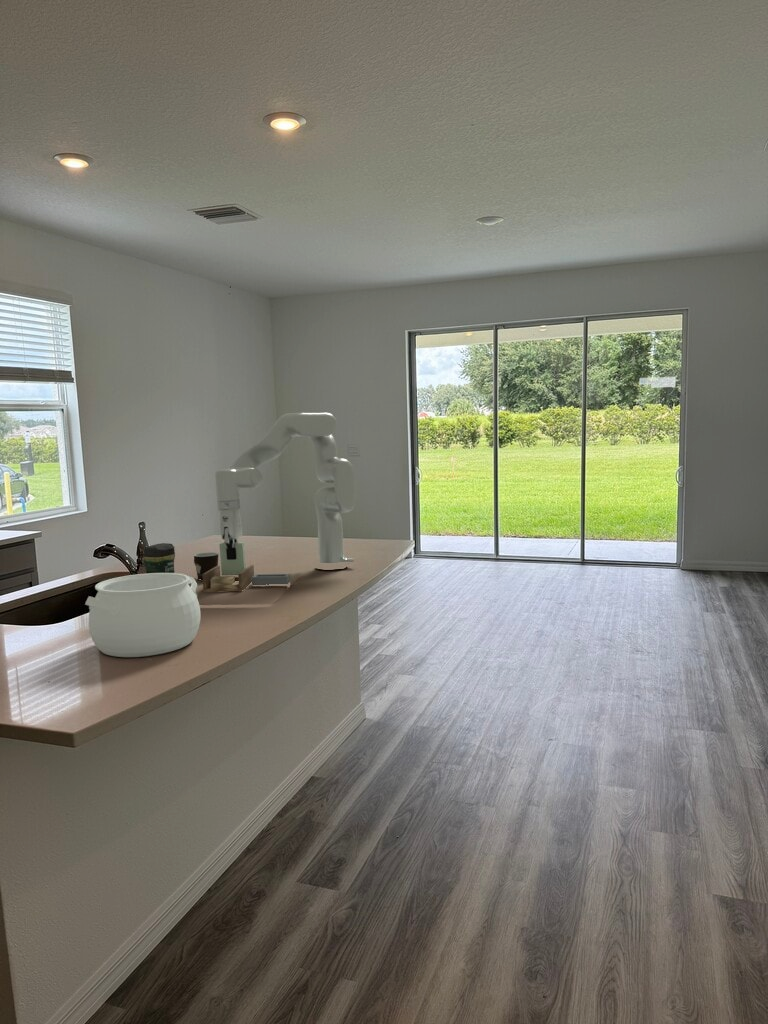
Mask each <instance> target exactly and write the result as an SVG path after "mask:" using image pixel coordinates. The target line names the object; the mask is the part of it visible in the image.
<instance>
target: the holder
mask: <svg viewBox="0 0 768 1024" xmlns="http://www.w3.org/2000/svg"><path fill="white" fill-rule="evenodd" d="M290 581H291V573H257V574H256V573H255V574H254V576H253V577H252V585H266V584H267V585H269V584H288V583H289V582H290ZM252 585H251V586H252Z"/></svg>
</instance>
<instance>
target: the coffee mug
mask: <svg viewBox="0 0 768 1024" xmlns="http://www.w3.org/2000/svg"><path fill="white" fill-rule="evenodd" d="M219 556H220V553H219V552H209V551H208V552H200V553H195V554H193V564H194V566H195V569H196V570H195V571H196V575H197V580H198V579H201V580H203V575H202V574H204V573H205V572H207V571H209V570H211V569H212V568H214V567H216V566H219Z"/></svg>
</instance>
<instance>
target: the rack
mask: <svg viewBox="0 0 768 1024" xmlns="http://www.w3.org/2000/svg"><path fill="white" fill-rule="evenodd" d="M254 568H255V567H254V565H253V564H251V565H249V566H247V567H246V569H245V570H243V571H242V572H240V573H239V574H238V575H237V576H235V581H239V588H211V579H212V578H213V577H219V576H221V565H218V566H216V567H214V568H212V569H211V570H209V571H207V572H205V573H204V574H202V575H203V581H202V588H203V589H202V590H203V591H202V592H203V593H218V592H217V591H242V590H244V589H245V588H246V587H247V586H248V585H249V584H250V583H251V582H252V577H253V576H254V575H255V570H254ZM245 590H246V589H245ZM245 590H244V591H245Z"/></svg>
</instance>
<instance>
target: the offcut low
mask: <svg viewBox="0 0 768 1024" xmlns="http://www.w3.org/2000/svg"><path fill="white" fill-rule="evenodd" d="M211 588H239V582H234V583H233V584H232V585H211Z"/></svg>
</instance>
